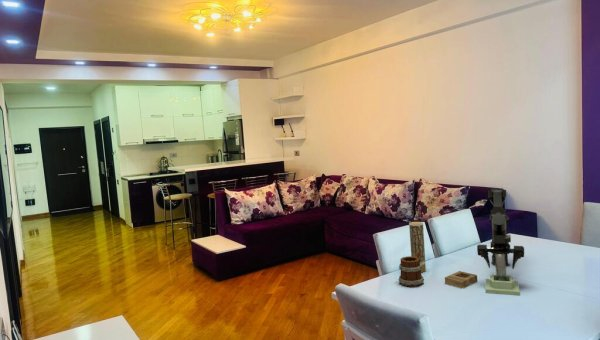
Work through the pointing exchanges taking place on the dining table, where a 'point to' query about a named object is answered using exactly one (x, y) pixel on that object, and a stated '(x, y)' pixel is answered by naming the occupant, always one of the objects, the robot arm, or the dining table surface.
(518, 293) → the socket stand
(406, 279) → the mug
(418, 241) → the bark textured cylinder
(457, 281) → the wooden rectangular frame
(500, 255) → the grey glass peg
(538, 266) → the dining table surface
